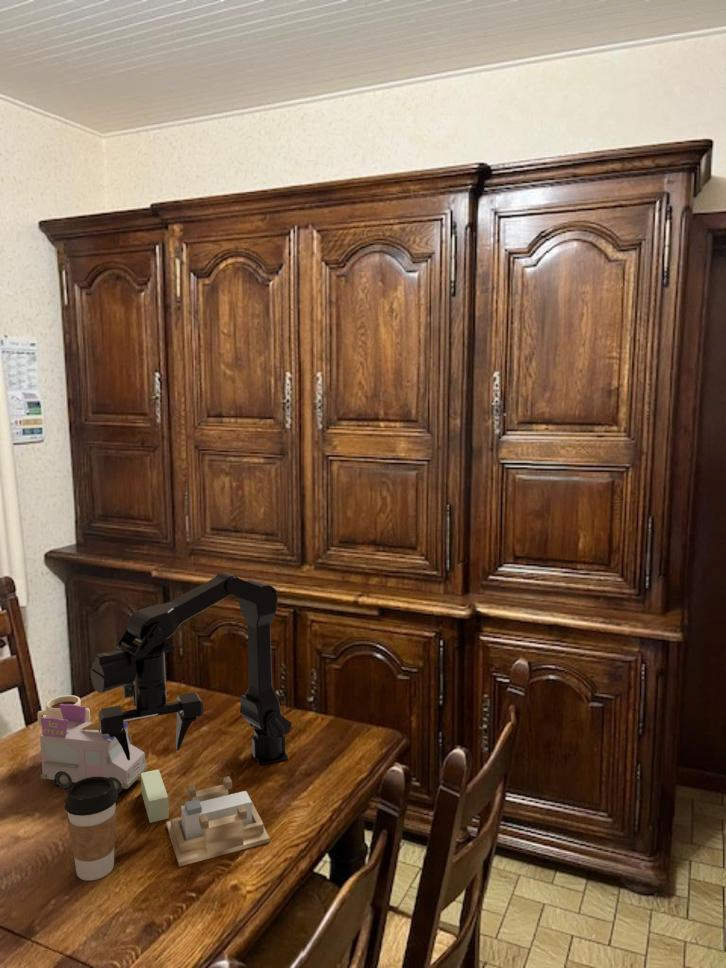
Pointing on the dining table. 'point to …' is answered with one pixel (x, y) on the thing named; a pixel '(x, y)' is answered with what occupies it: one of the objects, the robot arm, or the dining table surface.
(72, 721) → the toy vehicle
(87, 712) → the character mug
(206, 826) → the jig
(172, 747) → the dining table surface
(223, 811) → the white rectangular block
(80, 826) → the coffee cup
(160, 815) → the pale green rectangular block
